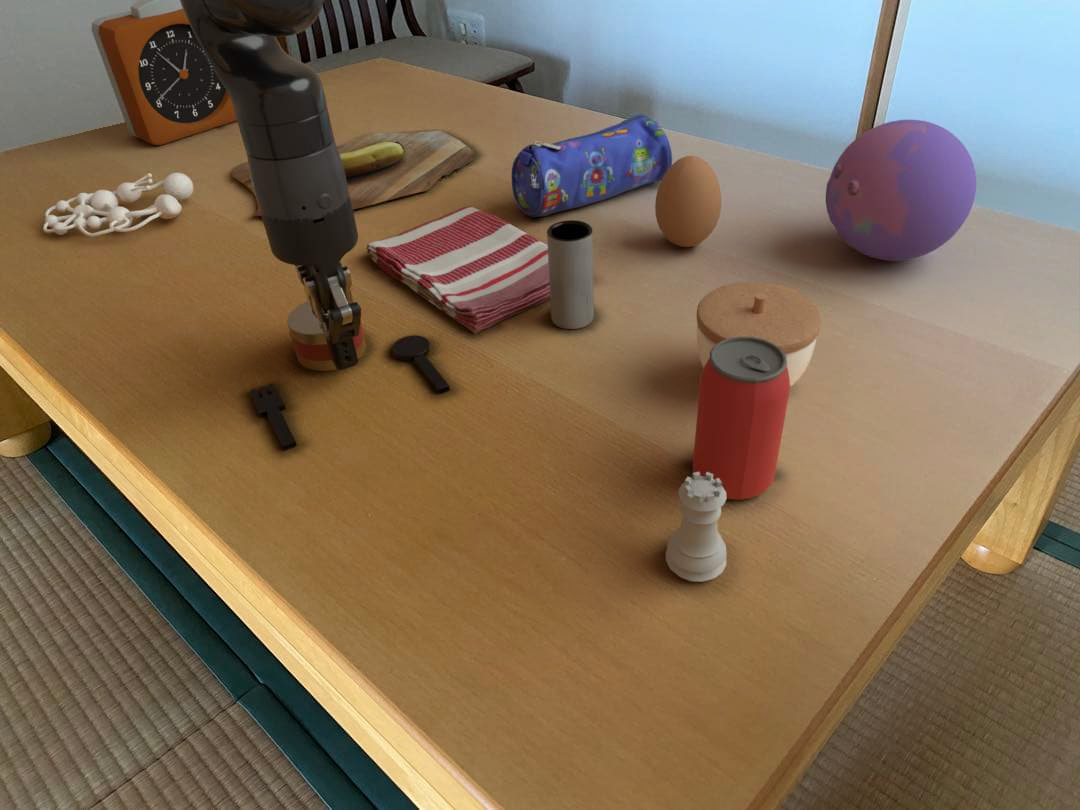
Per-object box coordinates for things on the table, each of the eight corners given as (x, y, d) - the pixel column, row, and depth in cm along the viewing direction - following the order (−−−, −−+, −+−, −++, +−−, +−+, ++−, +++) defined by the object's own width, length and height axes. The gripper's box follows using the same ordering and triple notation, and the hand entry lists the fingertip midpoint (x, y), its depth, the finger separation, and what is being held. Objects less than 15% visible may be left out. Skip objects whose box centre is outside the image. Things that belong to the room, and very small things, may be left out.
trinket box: (782, 343, 82) (796, 259, 76) (827, 409, 73) (846, 321, 68) (678, 356, 81) (683, 272, 75) (711, 425, 73) (720, 337, 67)
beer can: (733, 516, 64) (751, 395, 56) (675, 471, 68) (683, 353, 61) (790, 479, 67) (814, 359, 59) (730, 438, 71) (745, 321, 64)
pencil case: (536, 231, 103) (531, 158, 97) (504, 207, 109) (498, 137, 103) (677, 188, 111) (681, 118, 105) (640, 168, 117) (642, 100, 111)
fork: (303, 443, 73) (302, 438, 73) (277, 453, 72) (275, 448, 72) (275, 387, 80) (273, 382, 80) (250, 395, 79) (248, 390, 79)
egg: (730, 247, 98) (740, 159, 91) (680, 266, 95) (686, 176, 88) (689, 224, 103) (695, 139, 96) (640, 241, 100) (643, 154, 93)
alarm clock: (153, 149, 133) (104, 12, 120) (129, 137, 138) (80, 5, 125) (253, 116, 143) (218, -13, 130) (227, 106, 148) (191, -19, 135)
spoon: (462, 385, 79) (461, 379, 78) (426, 399, 78) (425, 393, 77) (421, 336, 86) (421, 331, 86) (388, 348, 85) (386, 342, 84)
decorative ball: (793, 234, 99) (813, 110, 90) (904, 215, 102) (934, 92, 92) (861, 295, 88) (891, 161, 79) (984, 272, 90) (1028, 138, 81)
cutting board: (266, 238, 106) (258, 210, 103) (218, 170, 125) (210, 145, 122) (505, 172, 118) (502, 146, 116) (428, 119, 137) (425, 96, 135)
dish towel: (476, 337, 85) (473, 315, 84) (363, 259, 100) (359, 239, 98) (595, 279, 93) (595, 258, 92) (474, 215, 108) (472, 196, 106)
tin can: (340, 377, 81) (330, 340, 78) (282, 363, 83) (271, 326, 81) (379, 339, 86) (372, 303, 83) (324, 327, 88) (315, 290, 86)
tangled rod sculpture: (29, 258, 107) (13, 230, 104) (67, 202, 118) (53, 176, 115) (177, 242, 107) (165, 215, 104) (201, 188, 118) (191, 162, 115)
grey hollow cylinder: (560, 304, 90) (556, 217, 83) (599, 310, 88) (599, 223, 82) (544, 325, 86) (539, 237, 80) (585, 333, 85) (583, 243, 78)
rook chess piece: (653, 565, 60) (657, 488, 55) (686, 530, 63) (693, 453, 58) (705, 596, 58) (714, 517, 53) (737, 558, 61) (749, 480, 56)
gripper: (241, 181, 72) (290, 344, 83) (279, 238, 63) (329, 413, 74) (323, 161, 75) (360, 322, 85) (372, 212, 65) (406, 385, 76)
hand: (345, 364), depth 80 cm, fingers closed
